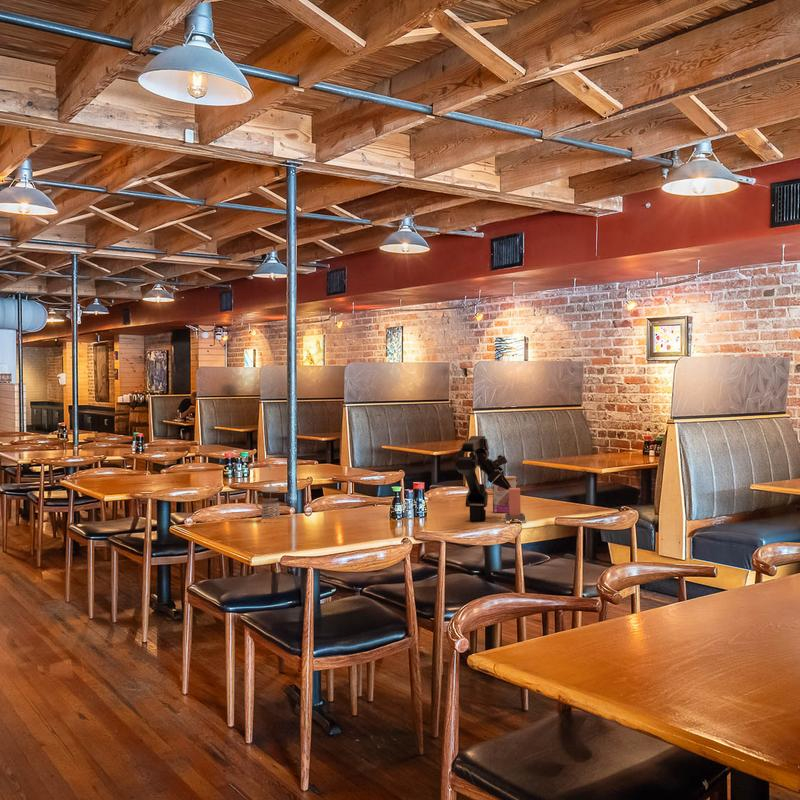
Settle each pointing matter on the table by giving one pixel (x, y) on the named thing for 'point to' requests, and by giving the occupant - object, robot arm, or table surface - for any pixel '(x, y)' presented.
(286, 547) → the table surface
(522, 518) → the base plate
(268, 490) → the french press
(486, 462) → the robot arm
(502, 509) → the candy bar box
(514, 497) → the column
